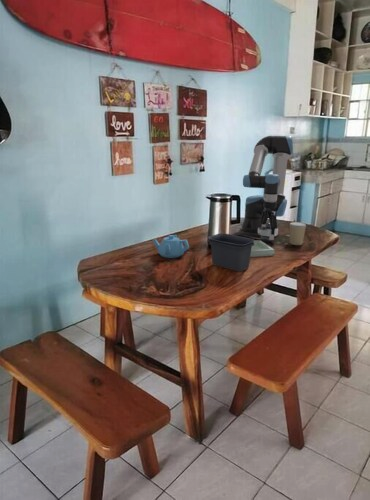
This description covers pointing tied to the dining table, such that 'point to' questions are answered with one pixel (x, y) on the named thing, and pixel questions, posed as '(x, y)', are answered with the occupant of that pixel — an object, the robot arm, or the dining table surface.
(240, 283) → the dining table surface
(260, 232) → the ring
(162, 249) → the teapot
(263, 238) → the stake stand
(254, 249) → the tray
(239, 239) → the storage bin
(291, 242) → the coffee cup
